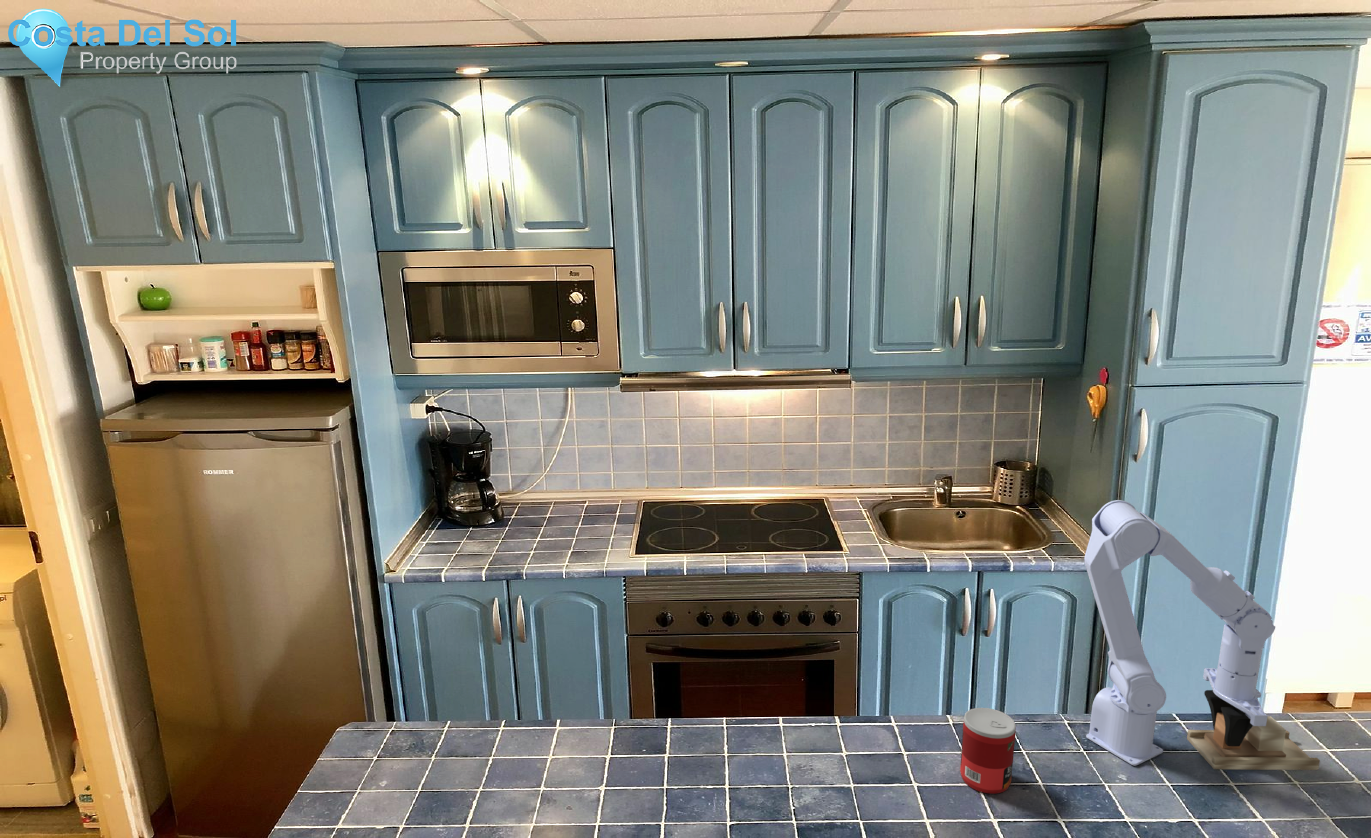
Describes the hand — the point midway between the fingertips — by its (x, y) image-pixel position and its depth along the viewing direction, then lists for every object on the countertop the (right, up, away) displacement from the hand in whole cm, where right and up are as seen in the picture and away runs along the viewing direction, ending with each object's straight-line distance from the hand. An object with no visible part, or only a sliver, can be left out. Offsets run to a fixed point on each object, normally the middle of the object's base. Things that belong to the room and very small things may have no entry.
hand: (1226, 738), depth 145 cm
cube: (+6, -1, 0) cm, 6 cm away
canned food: (-43, -5, -5) cm, 44 cm away
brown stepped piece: (+3, -2, 0) cm, 4 cm away
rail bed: (+4, -3, +1) cm, 5 cm away
